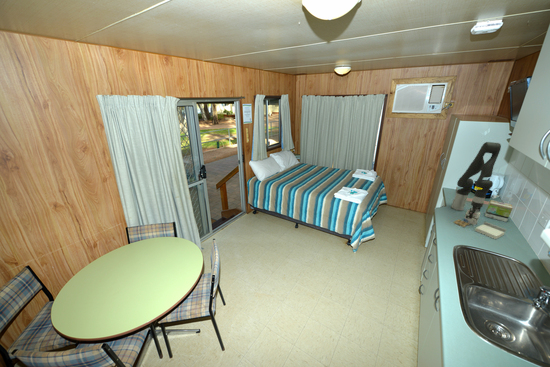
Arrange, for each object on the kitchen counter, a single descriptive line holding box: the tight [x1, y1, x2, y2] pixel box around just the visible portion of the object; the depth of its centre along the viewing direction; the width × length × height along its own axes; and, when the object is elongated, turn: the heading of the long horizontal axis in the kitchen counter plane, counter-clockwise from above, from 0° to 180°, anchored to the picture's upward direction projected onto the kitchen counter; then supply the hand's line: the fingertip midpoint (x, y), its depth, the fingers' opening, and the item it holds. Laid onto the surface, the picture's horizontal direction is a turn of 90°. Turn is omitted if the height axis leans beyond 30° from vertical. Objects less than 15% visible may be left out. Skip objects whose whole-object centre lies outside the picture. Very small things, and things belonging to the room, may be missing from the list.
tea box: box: [484, 199, 513, 223], centre depth 204 cm, size 15×10×15 cm, turn 47°
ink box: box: [462, 208, 481, 226], centre depth 197 cm, size 8×5×12 cm, turn 25°
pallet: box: [453, 218, 470, 228], centre depth 197 cm, size 8×8×2 cm
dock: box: [474, 221, 507, 240], centre depth 183 cm, size 14×14×5 cm
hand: (472, 217), depth 197 cm, fingers open, 8 cm apart
